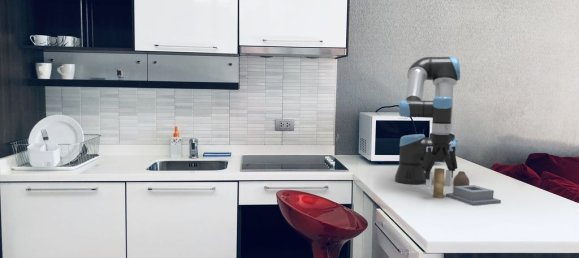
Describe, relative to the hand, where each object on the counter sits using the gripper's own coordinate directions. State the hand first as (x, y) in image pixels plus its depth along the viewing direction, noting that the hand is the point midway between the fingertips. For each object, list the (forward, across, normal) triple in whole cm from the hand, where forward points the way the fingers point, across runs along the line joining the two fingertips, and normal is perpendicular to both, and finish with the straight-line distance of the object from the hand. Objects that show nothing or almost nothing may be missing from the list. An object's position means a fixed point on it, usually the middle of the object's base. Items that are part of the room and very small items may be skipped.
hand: (438, 186), depth 190 cm
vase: (+5, +18, +7) cm, 20 cm away
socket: (+5, +11, -8) cm, 14 cm away
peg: (+5, 0, 0) cm, 5 cm away
